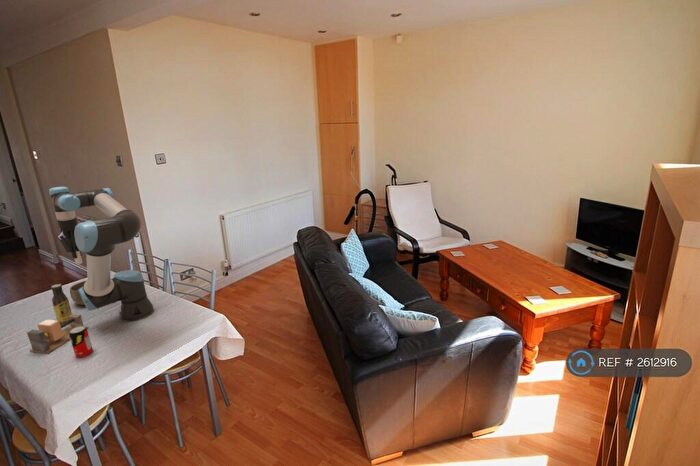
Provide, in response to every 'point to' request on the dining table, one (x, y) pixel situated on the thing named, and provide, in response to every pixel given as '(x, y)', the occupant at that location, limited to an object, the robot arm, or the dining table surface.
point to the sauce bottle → (60, 304)
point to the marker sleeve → (51, 329)
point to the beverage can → (80, 341)
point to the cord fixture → (40, 338)
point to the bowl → (77, 293)
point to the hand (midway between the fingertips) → (79, 263)
